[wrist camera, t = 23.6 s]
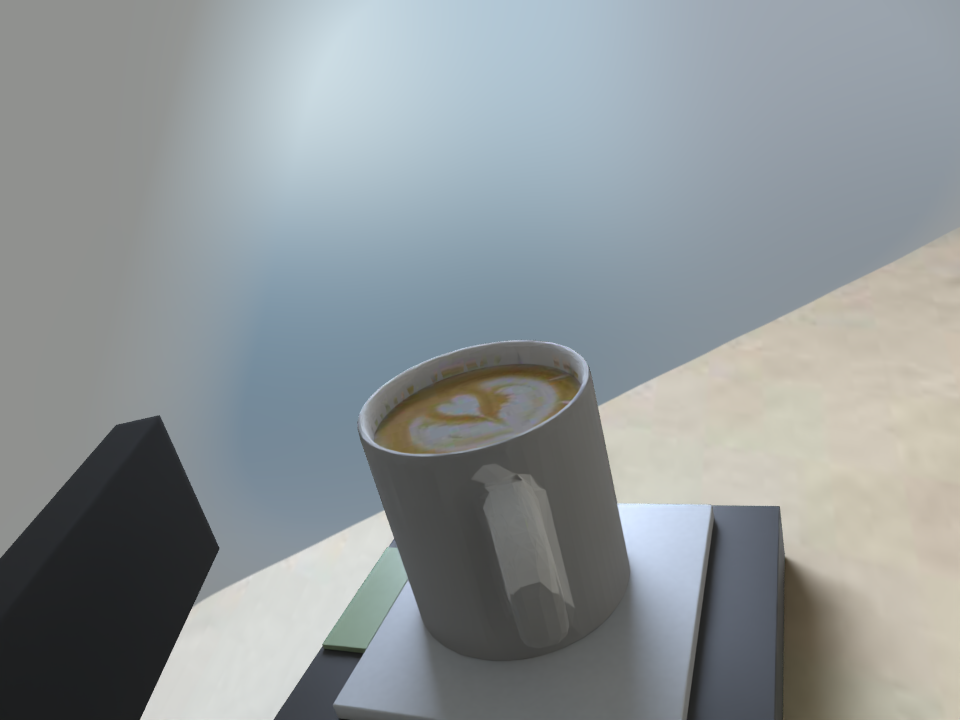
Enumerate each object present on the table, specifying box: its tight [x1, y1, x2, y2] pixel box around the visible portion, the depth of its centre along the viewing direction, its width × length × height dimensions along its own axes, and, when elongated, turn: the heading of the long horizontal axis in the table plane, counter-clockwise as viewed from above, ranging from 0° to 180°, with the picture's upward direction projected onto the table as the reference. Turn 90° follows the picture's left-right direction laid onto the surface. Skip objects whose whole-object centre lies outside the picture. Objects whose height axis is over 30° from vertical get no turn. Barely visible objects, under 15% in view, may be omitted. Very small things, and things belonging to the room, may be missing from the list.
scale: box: [274, 504, 785, 720], centre depth 36 cm, size 20×16×4 cm
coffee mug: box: [357, 340, 630, 661], centre depth 33 cm, size 13×10×10 cm
